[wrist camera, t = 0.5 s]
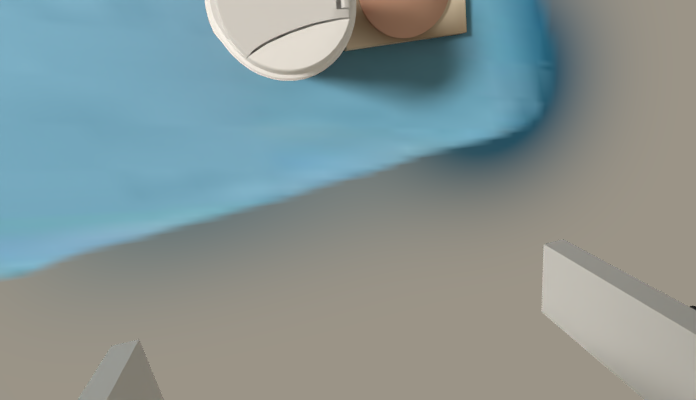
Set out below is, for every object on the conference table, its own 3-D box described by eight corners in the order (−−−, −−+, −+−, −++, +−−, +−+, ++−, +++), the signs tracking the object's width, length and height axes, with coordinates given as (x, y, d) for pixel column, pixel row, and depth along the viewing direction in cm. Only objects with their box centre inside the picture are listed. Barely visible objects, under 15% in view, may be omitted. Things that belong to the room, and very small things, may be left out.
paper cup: (322, -15, 31) (355, -97, 17) (330, 81, 33) (366, 74, 20) (225, -11, 29) (183, -95, 16) (241, 88, 32) (215, 86, 18)
